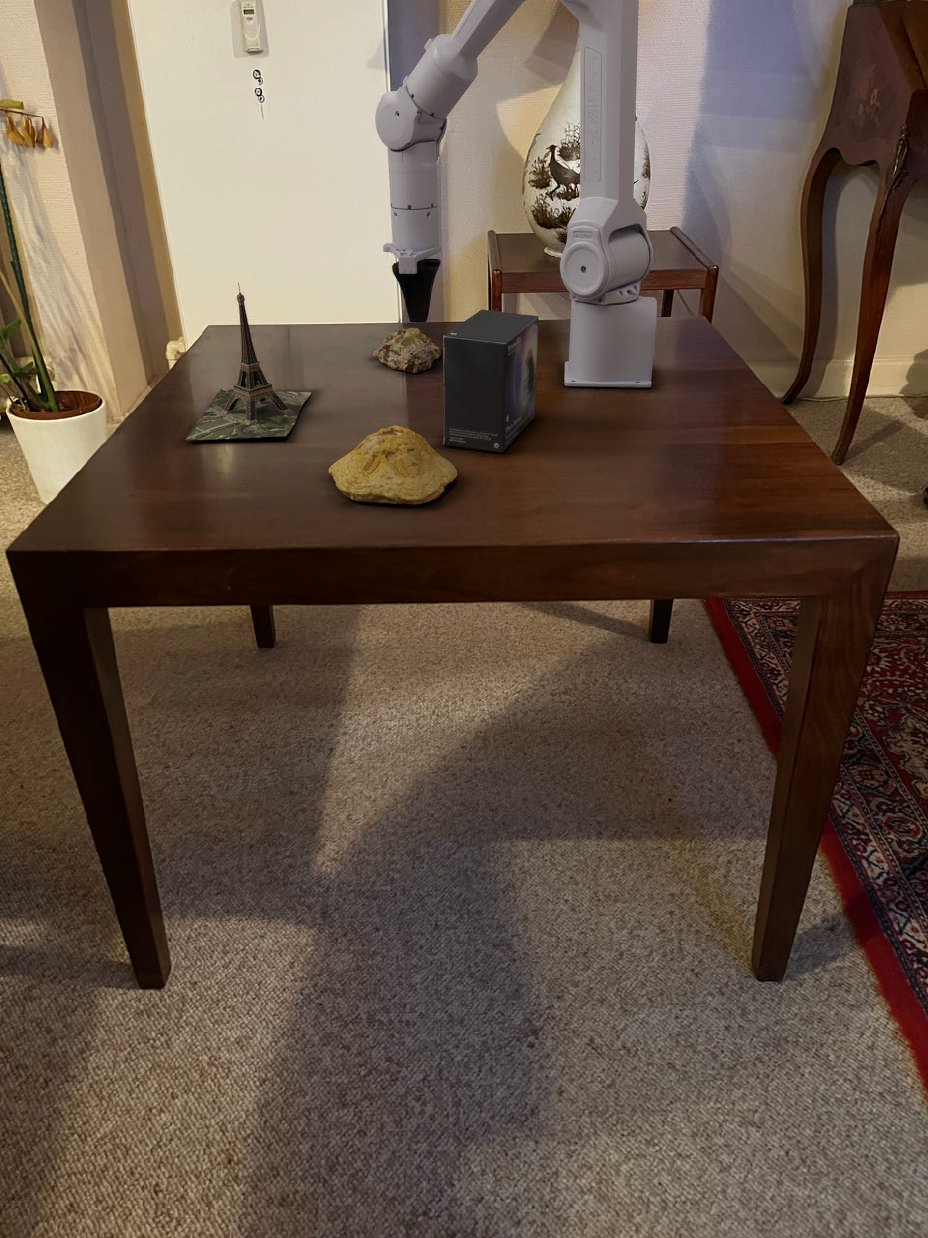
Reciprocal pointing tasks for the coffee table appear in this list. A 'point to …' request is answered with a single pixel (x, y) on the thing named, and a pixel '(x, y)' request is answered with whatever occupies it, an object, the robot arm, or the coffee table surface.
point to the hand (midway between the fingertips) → (418, 321)
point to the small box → (489, 379)
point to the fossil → (393, 469)
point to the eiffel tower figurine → (249, 401)
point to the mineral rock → (408, 351)
